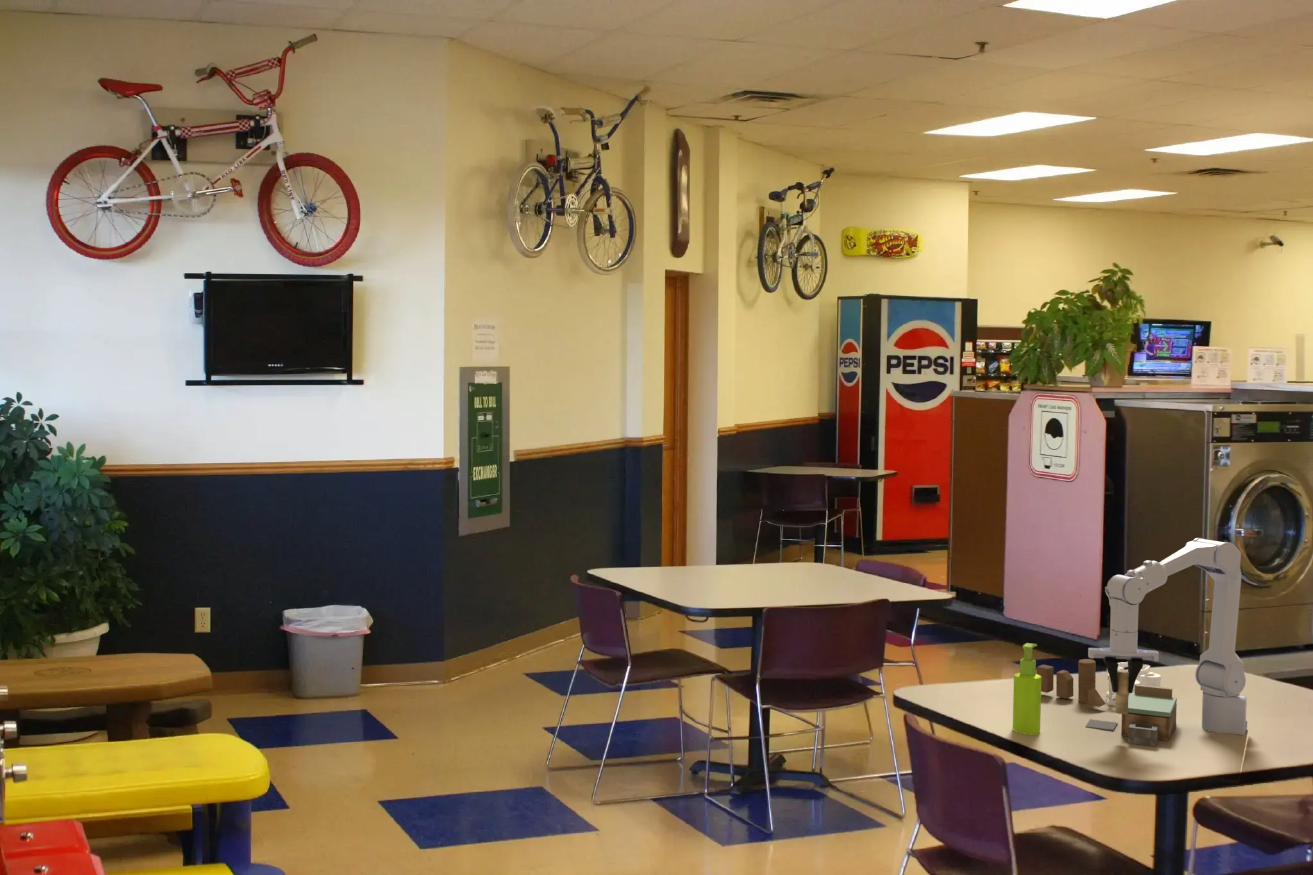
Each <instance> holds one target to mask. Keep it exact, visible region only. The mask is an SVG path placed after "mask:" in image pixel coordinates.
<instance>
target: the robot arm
mask: <svg viewBox="0 0 1313 875" xmlns="http://www.w3.org/2000/svg"><path fill="white" fill-rule="evenodd" d="M1241 558H1242V551H1240V550H1239V549H1238V547H1237V546H1236V545H1235V544H1234V543H1232V542H1228V541H1225V542H1223V541H1219V540H1218V541H1217V540H1212V539H1206V538H1202V537H1196V538H1194V539H1193V540H1191V541H1188V542H1186V543H1185V546H1184V547H1182V548H1181V549H1179V550H1177V551H1176V552H1174V553H1172V554H1171V555H1169V556H1167V557H1166V558H1164V559H1162V560H1161V561H1159V562H1158V561H1156V560H1149V559H1148V560H1144V561H1143V562H1142V563H1143V564H1141V565H1140V566H1138V567H1136V568H1134V569H1129V570H1127V571H1126V573H1125V574H1124V575H1123V574H1116V575H1113V576H1112V577H1110V579H1109V580H1108V581H1107V585H1106V586H1105V587H1104V589H1105V590H1104V592H1105V594H1106V596H1107V597H1108V601H1109V602H1108V603H1109V604H1108V605H1109V606H1110V624H1109V626H1110V627H1109V628H1110V629H1109V632H1110V633H1109V647H1088V648H1087V650H1088V651H1087V654H1088V655H1087V657H1088V659H1102V661H1103V663H1104V665H1105V666H1106V671H1107V670H1108V672H1107V674H1108V673H1109V676H1110V680H1111V685H1112V691H1113V692H1117V671H1118V663H1119V662H1118V659H1119V660H1127V662H1128V667H1127V672H1129V693H1132V692H1133V687H1134V684H1135V681H1136V678H1137V676H1138V674H1139V672H1140V670H1143V669H1142V667H1143V665H1144V661H1153V662H1159V658H1160V656H1159V655H1160V652H1159V651H1157V650H1148V649H1139V648H1138V640H1139V639H1138V638H1139V636H1138V635H1139V631H1138V630H1139V607H1140V606H1139V605H1140V603H1142V601H1143V600H1144V599H1145V596H1146V594H1148V593H1150V592H1152V591H1154V590H1155V589H1157V588H1159V587H1161V586H1163V585H1165V584H1166V582H1167V581H1168V577H1169V576H1172V575H1174V574H1176V573H1179V572H1180V571H1183V570H1184V569H1187V568H1189V567H1192V566H1193V565H1194V566H1195V567H1197V568H1199V569H1202V570H1204V571H1205V572H1206V573H1207V574H1208V575H1209V576H1210V577H1211V579H1212V580H1213V581H1214V585H1213V586H1214V587H1213V595H1212V596H1213V597H1212V606H1211V607H1212V609H1211V620H1210V621H1211V622H1210V629H1209V642H1208V644H1209V645H1208V649H1207V650H1205V651H1204V652H1203V653H1201V654H1200V655H1199V663H1198V665H1197V667H1196V669H1195V673H1194V675H1195V676H1194V677H1195V681H1196V682H1197V684H1198V685H1199V686H1200V691H1202V699H1201V700H1202V701H1201V702H1202V704H1201V705H1202V706H1201V707H1202V708H1201V728H1202V729H1203V730H1205V731H1207V732H1214V733H1219V734H1220V733H1222V734H1232V735H1242V736H1243V735H1245V734H1246V730H1248V721H1247V704H1248V703H1247V696H1246V695H1241V693H1242V692H1243V691H1244V688H1245V686H1246V681H1247V680H1246V674H1245V670H1244V668H1245V667H1244V666H1245V663H1244V662H1243V660H1242V659H1241V658H1240V657H1239V655H1238V654H1237V653H1236V643H1237V631H1238V630H1237V629H1238V621H1239V620H1238V619H1239V611H1240V610H1239V609H1240V597H1241V586H1242V571H1241V570H1242V569H1241V561H1242V560H1241Z"/></svg>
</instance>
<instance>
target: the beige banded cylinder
mask: <svg viewBox="0 0 1313 875" xmlns="http://www.w3.org/2000/svg"><path fill="white" fill-rule="evenodd" d="M1128 694H1129V672H1128V670H1127V671H1126V670H1124V671H1117V692H1116V699H1115V701H1116V706H1115V713H1116V714H1117V715H1119V714H1120V715H1122V714H1128Z"/></svg>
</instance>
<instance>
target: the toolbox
mask: <svg viewBox="0 0 1313 875" xmlns="http://www.w3.org/2000/svg"><path fill="white" fill-rule="evenodd" d="M1177 704H1178V703H1177V702H1176V704H1175V707H1174V709H1173V711H1172V714H1171V716H1170V717H1163V716H1155V715H1146V714H1137V713H1129V712H1128V714H1121V730H1120V731H1121V732H1120V735H1121V736H1125V737H1127V738H1128V742H1127V743H1128V744H1133V745H1140V746H1148V747H1149V746H1150V747H1156V746H1157V744H1158V742H1159V741H1163V742H1164V741H1165V742H1170V741H1171V738H1172V735H1173V733H1174V732H1175V728H1176V725H1177Z"/></svg>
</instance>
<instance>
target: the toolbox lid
mask: <svg viewBox="0 0 1313 875" xmlns="http://www.w3.org/2000/svg"><path fill="white" fill-rule="evenodd" d="M1177 701H1178V697H1176V696H1173V688H1172V687H1161V686H1160V687H1155V686H1145V685H1135V693H1133V692H1132V693H1130V695H1129V696H1128V712H1129V713H1137V714H1146V715H1155V716H1163V717H1170V716H1171V714H1172V711H1173V709H1174V707H1175V704H1176V703H1177Z"/></svg>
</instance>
